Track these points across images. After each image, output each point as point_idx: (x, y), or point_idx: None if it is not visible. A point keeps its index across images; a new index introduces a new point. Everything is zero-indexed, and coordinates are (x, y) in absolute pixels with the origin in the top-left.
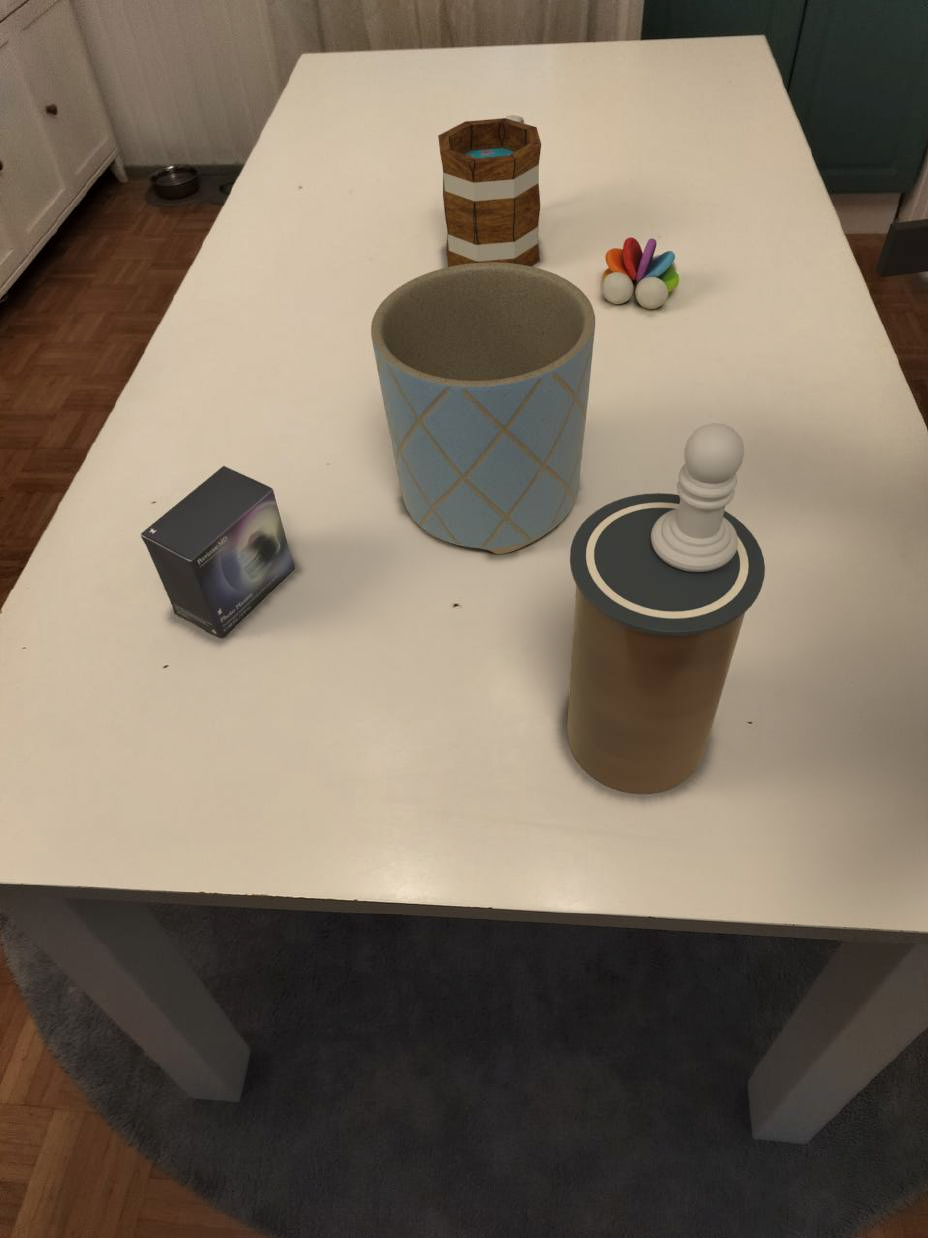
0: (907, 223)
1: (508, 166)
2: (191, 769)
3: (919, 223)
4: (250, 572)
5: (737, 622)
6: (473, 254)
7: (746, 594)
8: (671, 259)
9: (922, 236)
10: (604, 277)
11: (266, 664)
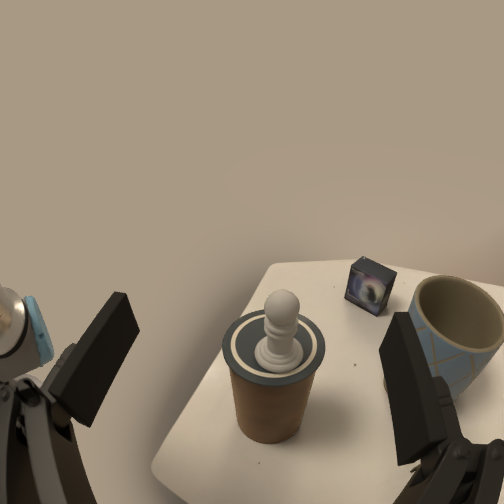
0: (408, 323)
1: None
2: (293, 291)
3: (410, 334)
4: (362, 294)
5: (234, 374)
6: None
7: (235, 365)
8: None
9: (399, 346)
10: None
11: (332, 308)
